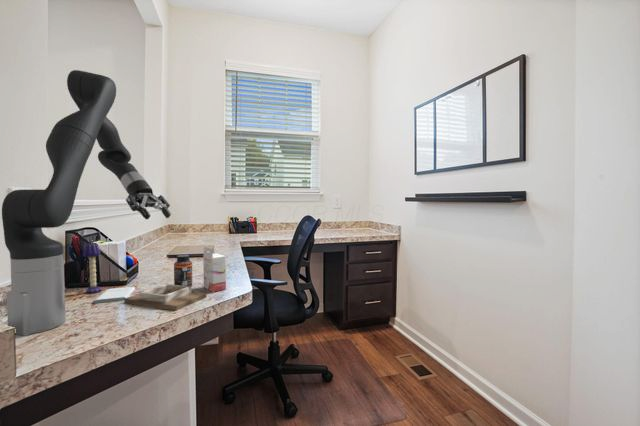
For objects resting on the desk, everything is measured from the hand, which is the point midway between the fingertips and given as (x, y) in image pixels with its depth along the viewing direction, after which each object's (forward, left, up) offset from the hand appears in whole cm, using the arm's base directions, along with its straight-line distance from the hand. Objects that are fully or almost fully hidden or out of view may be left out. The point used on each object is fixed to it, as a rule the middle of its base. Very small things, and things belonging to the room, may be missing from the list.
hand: (159, 217), depth 107 cm
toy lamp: (-15, +13, -25) cm, 32 cm away
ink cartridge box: (+2, -23, -25) cm, 34 cm away
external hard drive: (-15, +2, -26) cm, 30 cm away
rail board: (-13, -17, -25) cm, 33 cm away
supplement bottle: (0, -11, -25) cm, 27 cm away
